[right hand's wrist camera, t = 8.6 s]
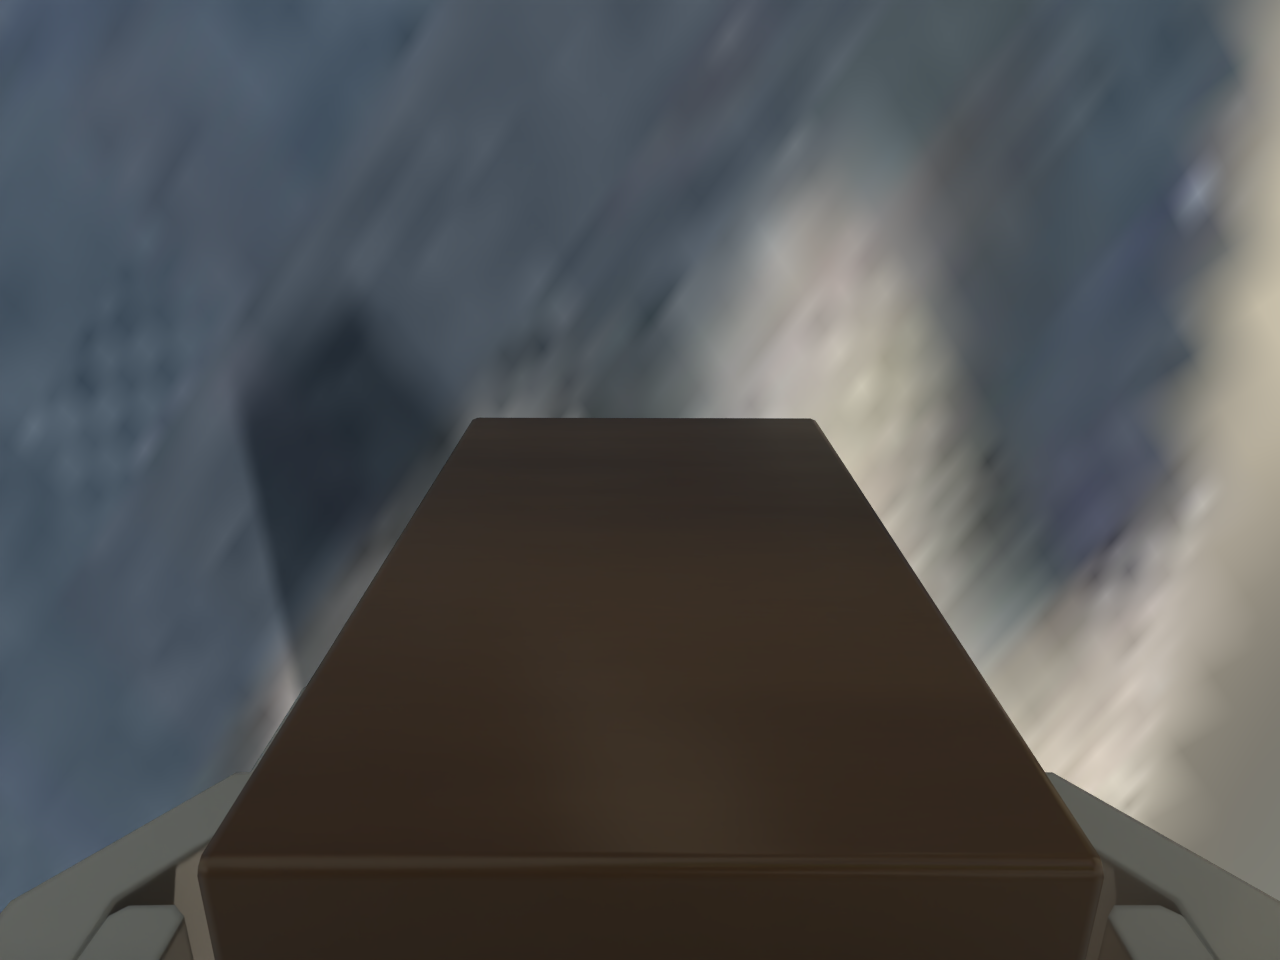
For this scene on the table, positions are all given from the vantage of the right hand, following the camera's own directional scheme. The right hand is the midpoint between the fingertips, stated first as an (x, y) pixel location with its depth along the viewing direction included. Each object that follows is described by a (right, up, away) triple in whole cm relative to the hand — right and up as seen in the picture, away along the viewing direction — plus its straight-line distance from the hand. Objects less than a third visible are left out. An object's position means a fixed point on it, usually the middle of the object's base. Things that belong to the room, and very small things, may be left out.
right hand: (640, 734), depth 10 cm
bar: (0, -8, +6) cm, 10 cm away
